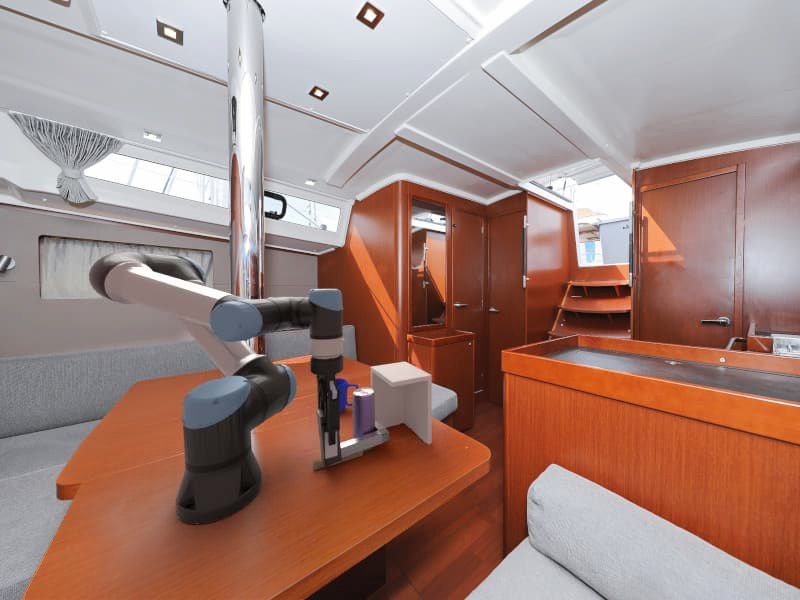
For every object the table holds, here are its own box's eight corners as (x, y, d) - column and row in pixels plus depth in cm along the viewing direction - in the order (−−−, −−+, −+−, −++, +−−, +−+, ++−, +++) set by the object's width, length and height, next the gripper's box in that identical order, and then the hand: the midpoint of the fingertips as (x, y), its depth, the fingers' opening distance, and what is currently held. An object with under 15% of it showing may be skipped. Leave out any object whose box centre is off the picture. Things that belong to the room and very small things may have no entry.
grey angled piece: (325, 466, 66) (320, 417, 64) (317, 447, 73) (313, 403, 72) (391, 442, 73) (387, 397, 72) (378, 427, 81) (375, 386, 80)
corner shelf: (393, 456, 72) (392, 382, 71) (371, 429, 86) (370, 366, 84) (431, 443, 78) (431, 375, 76) (405, 420, 91) (405, 361, 90)
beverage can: (365, 454, 73) (364, 397, 72) (348, 447, 76) (347, 392, 75) (379, 443, 78) (379, 390, 77) (363, 437, 81) (362, 385, 80)
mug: (356, 415, 94) (356, 386, 94) (320, 415, 95) (319, 386, 94) (360, 405, 103) (360, 378, 102) (327, 405, 103) (326, 378, 102)
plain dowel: (315, 467, 66) (313, 459, 68) (314, 472, 67) (312, 463, 69) (363, 453, 72) (361, 445, 73) (362, 457, 73) (359, 450, 74)
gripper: (354, 361, 61) (355, 466, 62) (333, 345, 76) (335, 430, 77) (318, 366, 57) (320, 477, 59) (304, 348, 72) (306, 437, 74)
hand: (328, 450), depth 68 cm, fingers closed on grey angled piece, 4 cm apart
